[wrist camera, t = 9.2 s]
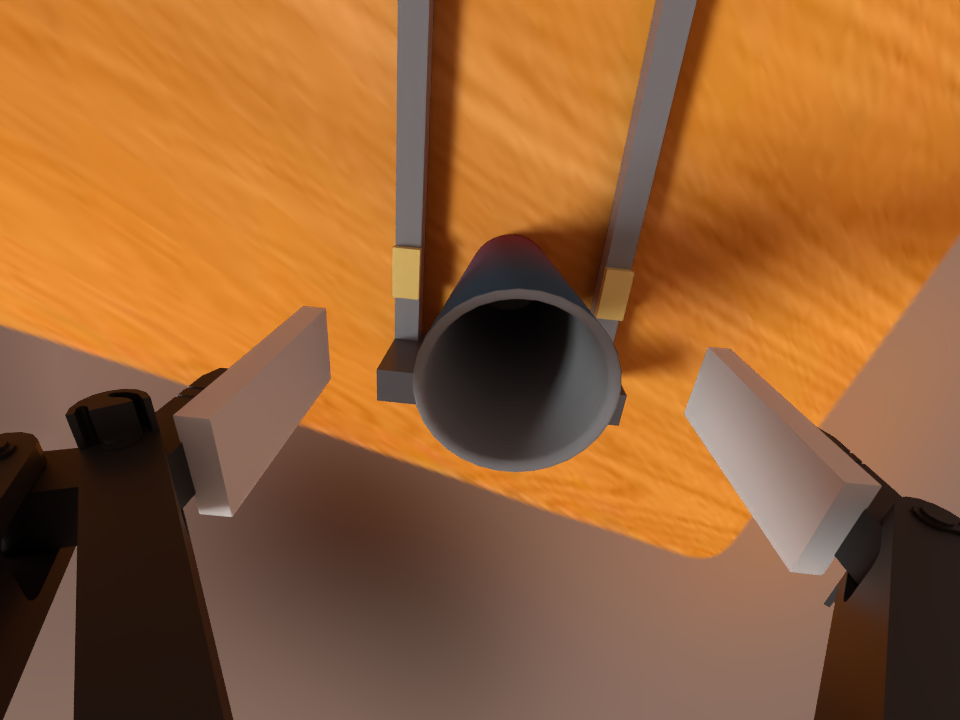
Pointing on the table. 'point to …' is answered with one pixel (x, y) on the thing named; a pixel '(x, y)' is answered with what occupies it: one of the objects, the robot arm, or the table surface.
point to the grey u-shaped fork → (412, 177)
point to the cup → (516, 364)
